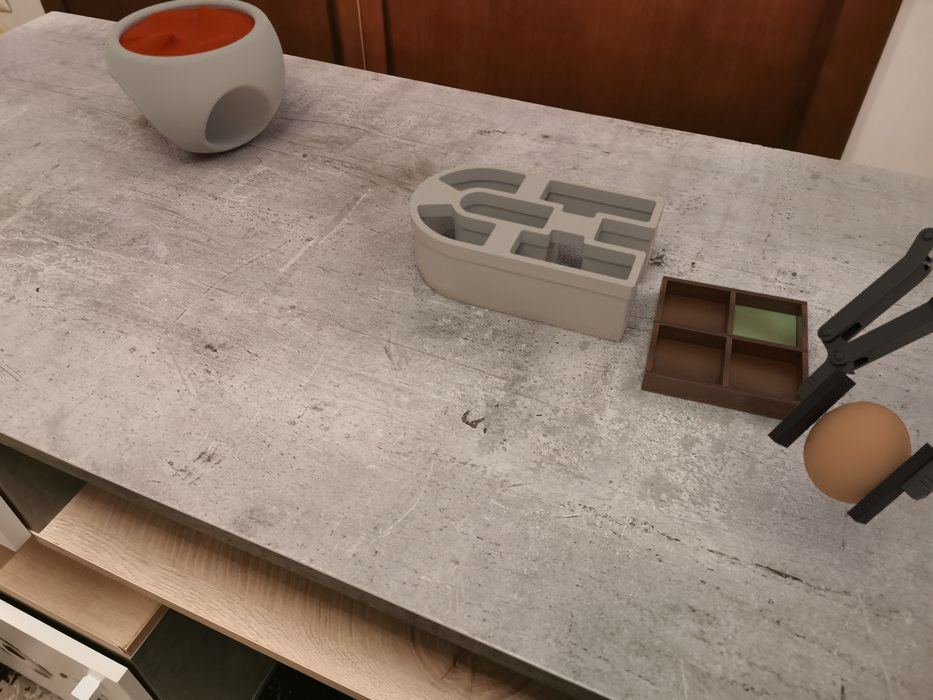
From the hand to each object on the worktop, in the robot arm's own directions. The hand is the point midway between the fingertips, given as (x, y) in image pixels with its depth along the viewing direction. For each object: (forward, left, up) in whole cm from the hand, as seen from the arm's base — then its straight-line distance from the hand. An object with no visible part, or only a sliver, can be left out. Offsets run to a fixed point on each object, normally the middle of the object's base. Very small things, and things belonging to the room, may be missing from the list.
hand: (815, 478), depth 50 cm
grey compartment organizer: (+33, +28, -16) cm, 46 cm away
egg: (+3, -3, -4) cm, 5 cm away
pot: (+51, +81, -16) cm, 97 cm away
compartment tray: (+26, +4, -15) cm, 31 cm away
